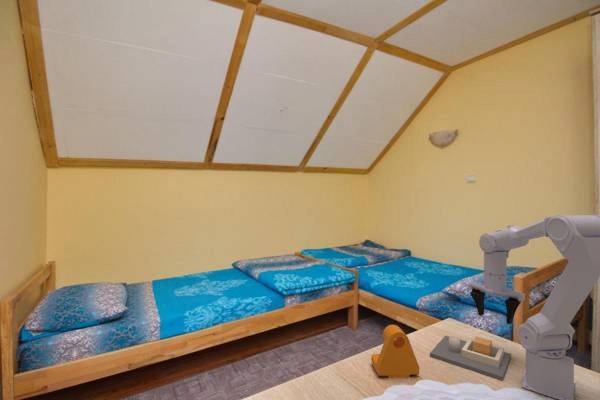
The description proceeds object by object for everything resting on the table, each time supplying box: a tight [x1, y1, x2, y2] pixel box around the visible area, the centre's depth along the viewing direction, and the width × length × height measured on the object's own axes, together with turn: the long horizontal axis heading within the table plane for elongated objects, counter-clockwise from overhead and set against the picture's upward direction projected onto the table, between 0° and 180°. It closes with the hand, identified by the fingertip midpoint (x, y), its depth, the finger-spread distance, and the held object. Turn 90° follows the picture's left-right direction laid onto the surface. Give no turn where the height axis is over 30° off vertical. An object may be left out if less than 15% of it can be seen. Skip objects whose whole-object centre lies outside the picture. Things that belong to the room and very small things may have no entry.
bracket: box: [371, 324, 420, 379], centre depth 83 cm, size 11×7×12 cm, turn 93°
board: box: [429, 335, 512, 381], centre depth 90 cm, size 18×15×4 cm
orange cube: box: [473, 336, 493, 357], centre depth 88 cm, size 4×4×4 cm
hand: (494, 318), depth 91 cm, fingers open, 7 cm apart
